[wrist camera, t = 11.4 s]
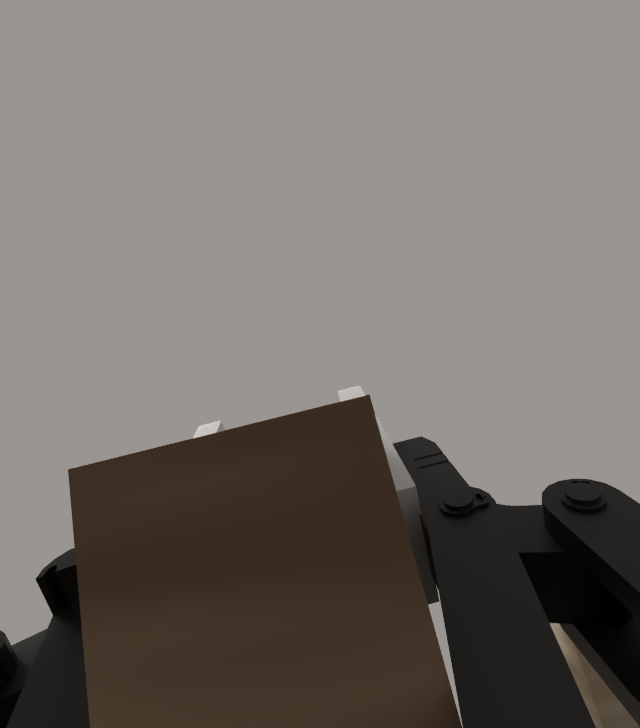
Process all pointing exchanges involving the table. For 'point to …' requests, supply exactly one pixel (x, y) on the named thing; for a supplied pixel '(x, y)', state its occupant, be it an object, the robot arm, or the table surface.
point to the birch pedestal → (593, 687)
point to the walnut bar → (255, 583)
